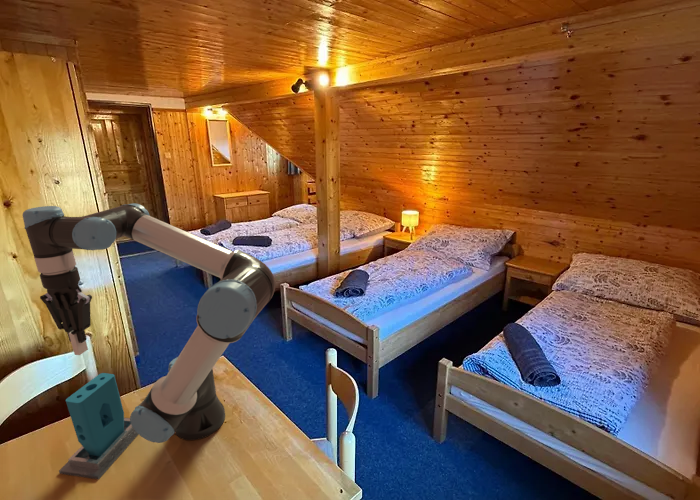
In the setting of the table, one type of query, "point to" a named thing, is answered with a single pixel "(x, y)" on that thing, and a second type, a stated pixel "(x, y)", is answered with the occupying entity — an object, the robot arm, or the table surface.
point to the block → (97, 414)
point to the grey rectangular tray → (95, 465)
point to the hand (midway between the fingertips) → (81, 351)
